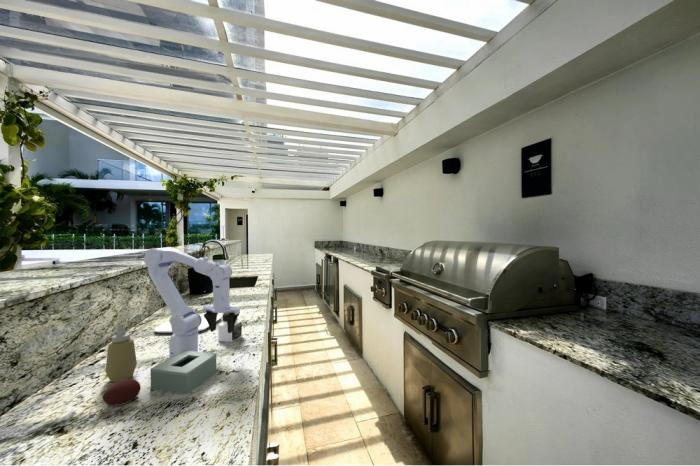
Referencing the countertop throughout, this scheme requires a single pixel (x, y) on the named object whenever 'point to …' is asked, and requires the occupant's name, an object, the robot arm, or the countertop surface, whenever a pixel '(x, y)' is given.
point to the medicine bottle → (223, 331)
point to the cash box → (183, 372)
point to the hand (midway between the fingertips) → (221, 331)
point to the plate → (167, 326)
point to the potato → (121, 392)
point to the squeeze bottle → (121, 356)
